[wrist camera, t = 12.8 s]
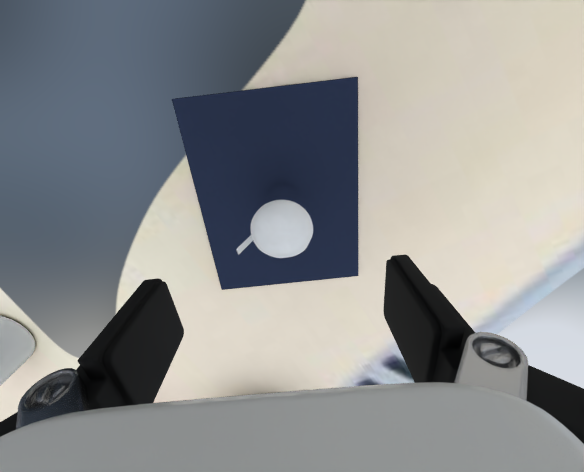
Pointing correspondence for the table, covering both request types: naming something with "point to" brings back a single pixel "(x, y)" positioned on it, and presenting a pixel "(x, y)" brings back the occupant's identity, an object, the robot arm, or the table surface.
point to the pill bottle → (13, 347)
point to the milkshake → (280, 224)
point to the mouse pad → (276, 174)
